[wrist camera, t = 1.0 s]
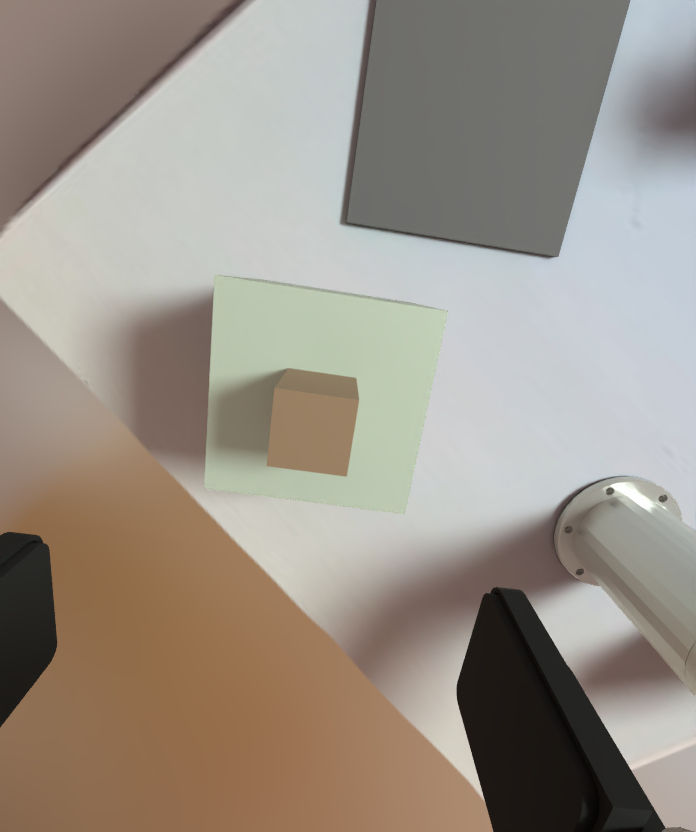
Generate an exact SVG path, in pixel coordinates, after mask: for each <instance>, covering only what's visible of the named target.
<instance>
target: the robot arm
mask: <svg viewBox="0 0 696 832" xmlns="http://www.w3.org/2000/svg"><path fill="white" fill-rule="evenodd" d="M554 546H555V550H556V553H557V556H558V558H559V559H560V561H561V563H562V564H563V565H564V567H565V568H566V569H567V570H568V572H569V573H571V574H572V575H573V576H574V577H575V578H577V579H579V580H581V581H583V582H585V583H588V584H591V585H594V586H601V587H602V588H603V590H604V591H605V592H606V593H607V594H608V595H609V597H610V598H611V599H612V600H613V601H614V602H615V604H616V605H617V606H618V607H619V608H620V609H621V611H622V612H623V613H624V614H625V615H626V616H627V618H628V619H629V620H630V621H631V622H632V623H633V625H634V626H635V627H636V628H637V629H638V630H639V632H640V633H641V634H642V635H643V636H644V637H645V639H646V640H647V641H648V642H649V643H650V644H651V646H652V647H653V648H654V649H655V650H656V651H657V653H658V654H659V655H660V656H661V657H662V658H663V660H664V661H665V662H666V663H667V664H668V665H669V667H670V668H671V669H672V670H673V671H674V672H675V674H676V675H677V676H678V677H679V678H680V679H681V681H682V682H683V683H684V684H685V685H686V686H687V688H688V689H689V690H690V691H691V692H692V693H693V694H694V695H695V697H696V530H694V529H693V528H692V527H690V526H689V525H687V524H686V523H684V522H683V521H682V515H681V510H680V508H679V506H678V503H677V502H676V500H675V499H674V498H673V496H672V495H671V494H670V493H669V492H667V491H666V490H665V489H663V488H662V487H660V486H659V485H657V484H655V483H653V482H652V481H649V480H646V479H643V478H637V477H616V478H611V479H606V480H604V481H601V482H598V483H596V484H594V485H592V486H590V487H588V488H587V489H585V490H583V491H582V492H581V493H579V494H578V495H577V496H576V497H574V498H573V499H572V501H571V502H570V503H569V504H568V505H567V506H566V507H565V509H564V511H563V512H562V514H561V515H560V517H559V520H558V522H557V525H556V528H555V534H554ZM50 565H51V564H50V552H49V547H48V545H47V544H44V543H43V541H42V539H41V537H40V536H37V535H31V534H22V533H14V532H7V533H4V534H2V535H0V727H1V726H2V724H3V723H4V722H5V720H6V719H7V718H8V717H9V715H10V714H11V713H12V711H13V710H14V709H15V708H16V706H17V705H18V704H19V703H20V701H21V700H22V699H23V697H24V696H25V695H26V693H27V692H28V691H29V689H30V688H31V687H32V686H33V684H34V683H35V682H36V681H37V679H38V678H39V677H40V675H41V674H42V673H43V671H44V670H45V669H46V668H47V666H48V665H49V664H50V662H51V661H52V658H53V657H54V654H55V652H56V648H57V636H56V624H55V612H54V600H53V589H52V576H51V566H50ZM457 701H458V705H459V709H460V713H461V716H462V720H463V723H464V727H465V731H466V734H467V738H468V741H469V745H470V749H471V752H472V756H473V759H474V763H475V767H476V770H477V774H478V777H479V781H480V785H481V788H482V792H483V795H484V799H485V803H486V806H487V809H488V813H489V817H490V820H491V824H492V828H493V831H494V832H693V831H690V830H687V829H684V828H681V827H676V828H675V827H673V828H665V826H664V825H663V823H662V821H661V820H660V818H659V817H658V815H657V813H656V811H655V810H654V808H653V806H652V805H651V803H650V801H649V800H648V798H647V796H646V795H645V793H644V791H643V790H642V788H641V786H640V785H639V783H638V781H637V780H636V778H635V776H634V774H633V773H632V771H631V769H630V768H629V766H628V764H627V763H626V761H625V759H624V758H623V756H622V754H621V753H620V751H619V749H618V748H617V746H616V744H615V743H614V741H613V739H612V738H611V736H610V734H609V733H608V731H607V729H606V727H605V726H604V724H603V722H602V721H601V719H600V717H599V716H598V714H597V712H596V711H595V709H594V707H593V706H592V704H591V702H590V701H589V699H588V697H587V696H586V694H585V692H584V691H583V689H582V687H581V686H580V684H579V682H578V681H577V679H576V677H575V676H574V674H573V672H572V671H571V670H570V668H569V667H568V666H567V664H566V663H565V661H564V659H563V658H562V656H561V654H560V653H559V651H558V649H557V648H556V646H555V644H554V642H553V641H552V639H551V637H550V636H549V634H548V632H547V631H546V629H545V627H544V626H543V624H542V622H541V621H540V619H539V617H538V615H537V614H536V612H535V610H534V609H533V607H532V605H531V604H530V602H529V600H528V599H527V597H526V595H525V594H524V593H523V591H521V590H516V589H507V588H498V587H496V588H493V589H492V591H491V593H490V594H489V593H486V594H485V595H484V596H483V598H482V602H481V605H480V608H479V612H478V615H477V618H476V622H475V625H474V629H473V632H472V635H471V639H470V642H469V645H468V649H467V652H466V655H465V659H464V662H463V666H462V669H461V672H460V676H459V679H458V683H457Z"/></svg>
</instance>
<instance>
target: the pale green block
mask: <svg viewBox="0 0 696 832" xmlns="http://www.w3.org/2000/svg"><path fill="white" fill-rule="evenodd" d="M447 314H448V311H445V310H441V309H436V308H432V307H428V306H423V305H419V304H415V303H410V302H404V301H397V300H391V299H384V298H378V297H371V296H365V295H358V294H352V293H346V292H339V291H333V290H326V289H320V288H313V287H307V286H300V285H294V284H288V283H281V282H275V281H268V280H261V279H251V278H240V277H230V276H220V275H214V296H213V316H212V336H211V356H210V376H209V397H208V417H207V437H206V457H205V478H204V489H212V490H220V491H227V492H235V493H243V494H251V495H259V496H266V497H274V498H282V499H290V500H297V501H305V502H313V503H321V504H329V505H336V506H344V507H352V508H360V509H368V510H375V511H383V512H391V513H399V514H405V510H406V505H407V500H408V496H409V491H410V486H411V482H412V477H413V472H414V468H415V463H416V459H417V454H418V449H419V445H420V440H421V435H422V431H423V426H424V421H425V417H426V412H427V407H428V403H429V398H430V393H431V389H432V384H433V379H434V375H435V370H436V365H437V361H438V356H439V351H440V347H441V342H442V337H443V333H444V328H445V323H446V319H447Z"/></svg>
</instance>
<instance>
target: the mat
mask: <svg viewBox="0 0 696 832" xmlns="http://www.w3.org/2000/svg"><path fill="white" fill-rule="evenodd" d="M629 3H630V0H376V7H375V15H374V22H373V30H372V37H371V44H370V52H369V59H368V67H367V74H366V81H365V89H364V96H363V104H362V111H361V118H360V126H359V133H358V141H357V148H356V156H355V163H354V170H353V178H352V185H351V193H350V200H349V207H348V215H347V223H350V224H356V225H362V226H368V227H374V228H380V229H387V230H393V231H399V232H405V233H411V234H417V235H423V236H429V237H435V238H441V239H448V240H454V241H460V242H466V243H472V244H478V245H484V246H490V247H496V248H502V249H509V250H515V251H521V252H527V253H533V254H539V255H545V256H551V257H558V256H559V252H560V249H561V245H562V242H563V238H564V234H565V231H566V227H567V224H568V220H569V217H570V213H571V210H572V206H573V202H574V199H575V195H576V192H577V188H578V185H579V181H580V178H581V174H582V170H583V167H584V163H585V160H586V156H587V153H588V149H589V146H590V142H591V138H592V135H593V131H594V128H595V124H596V121H597V117H598V114H599V110H600V106H601V103H602V99H603V96H604V92H605V89H606V85H607V81H608V78H609V74H610V71H611V67H612V64H613V60H614V57H615V53H616V49H617V46H618V42H619V39H620V35H621V32H622V28H623V25H624V21H625V17H626V14H627V10H628V7H629Z"/></svg>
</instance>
